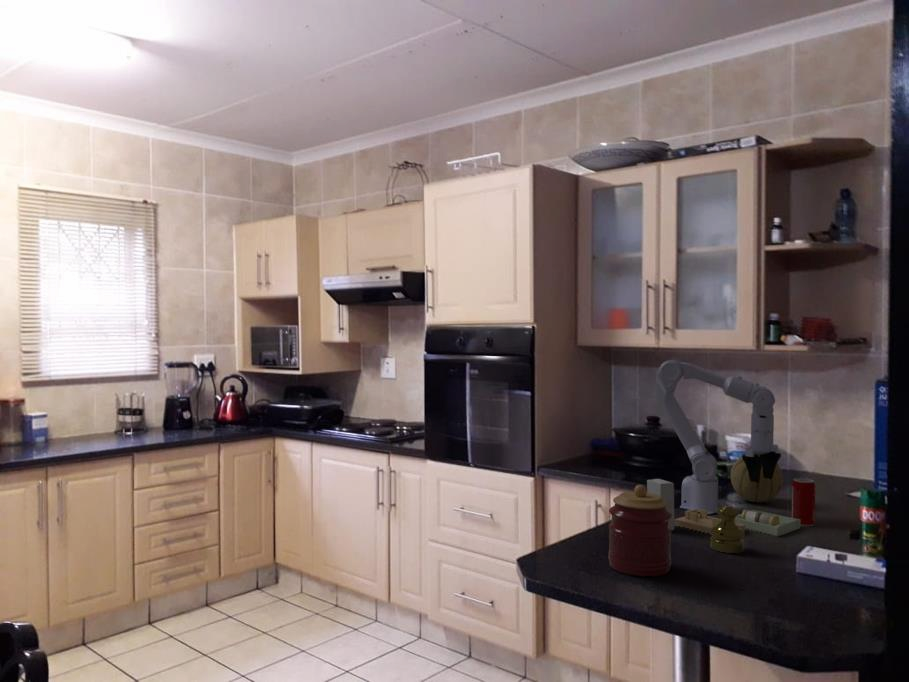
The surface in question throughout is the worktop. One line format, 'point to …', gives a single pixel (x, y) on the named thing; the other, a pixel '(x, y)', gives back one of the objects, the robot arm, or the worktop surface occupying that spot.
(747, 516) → the fuse
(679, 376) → the robot arm
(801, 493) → the soda can
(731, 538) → the gold tiered figurine
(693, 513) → the fuse holder
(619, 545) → the canister
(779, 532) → the parts tray
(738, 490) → the ribbed pale melon
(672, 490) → the skincare box
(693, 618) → the worktop surface
